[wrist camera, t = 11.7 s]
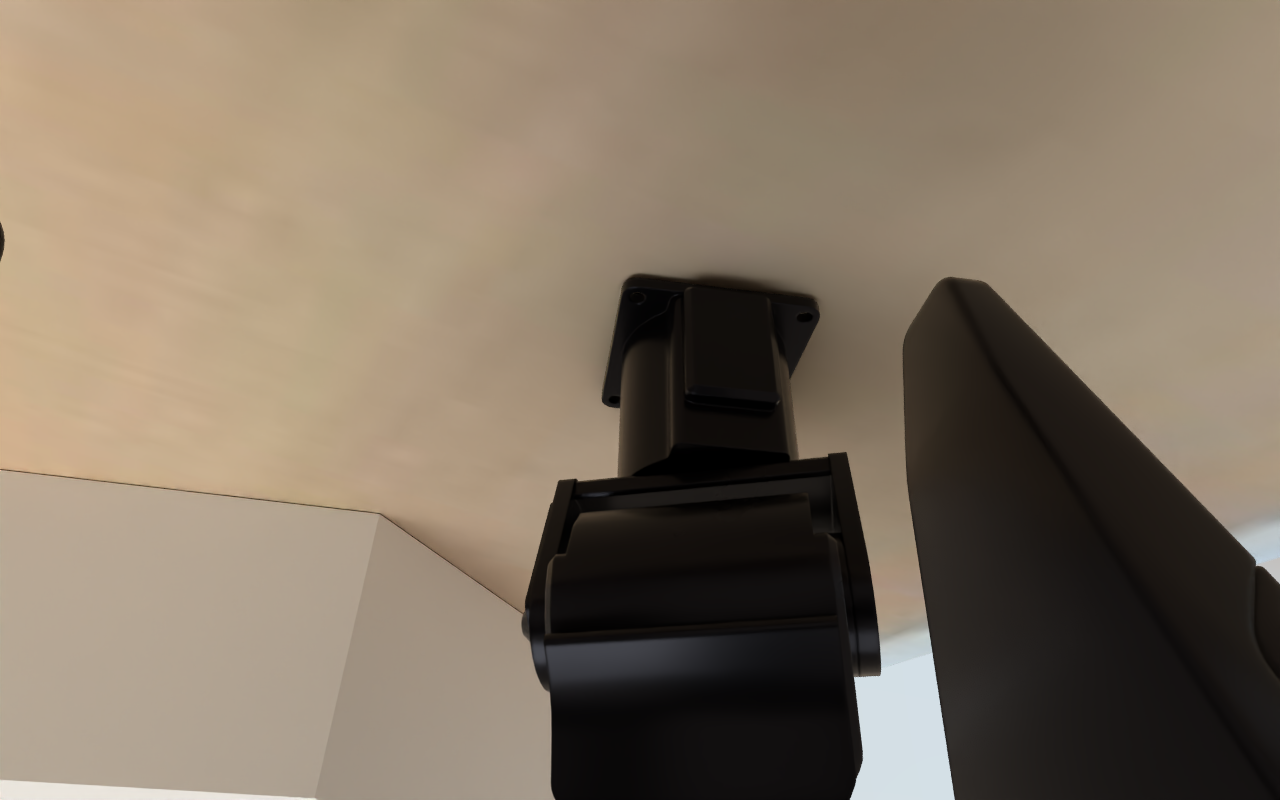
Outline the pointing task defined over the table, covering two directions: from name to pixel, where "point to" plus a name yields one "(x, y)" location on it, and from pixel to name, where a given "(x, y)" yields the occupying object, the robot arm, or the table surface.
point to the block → (250, 655)
